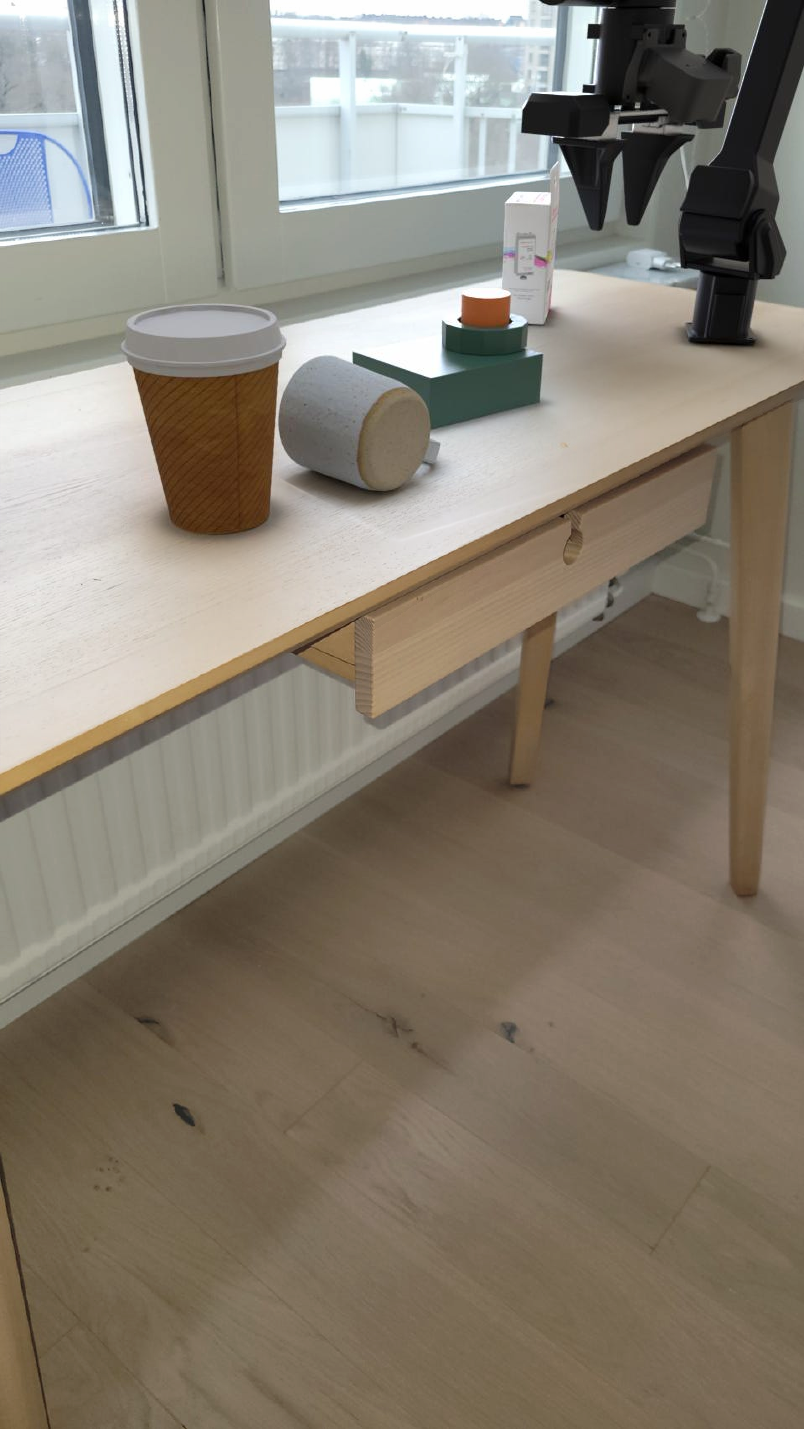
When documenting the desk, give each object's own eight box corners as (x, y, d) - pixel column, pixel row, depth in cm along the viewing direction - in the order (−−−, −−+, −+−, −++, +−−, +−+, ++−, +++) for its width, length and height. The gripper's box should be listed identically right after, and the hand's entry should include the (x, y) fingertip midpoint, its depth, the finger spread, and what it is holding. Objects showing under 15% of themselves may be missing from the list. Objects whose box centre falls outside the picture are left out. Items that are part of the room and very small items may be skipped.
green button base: (472, 373, 96) (475, 304, 93) (552, 399, 90) (558, 325, 87) (353, 400, 89) (351, 325, 86) (429, 430, 83) (431, 351, 79)
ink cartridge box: (507, 306, 120) (515, 159, 112) (551, 308, 119) (562, 160, 111) (497, 323, 113) (505, 168, 105) (544, 326, 112) (556, 169, 104)
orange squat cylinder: (486, 317, 91) (487, 286, 89) (519, 326, 88) (521, 294, 87) (450, 324, 89) (451, 292, 87) (483, 333, 86) (484, 300, 85)
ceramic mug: (363, 509, 69) (363, 389, 65) (277, 478, 73) (272, 364, 69) (467, 470, 76) (473, 359, 72) (382, 444, 80) (383, 338, 76)
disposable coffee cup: (152, 490, 72) (129, 302, 65) (295, 486, 72) (285, 300, 66) (135, 547, 64) (106, 341, 57) (295, 543, 64) (284, 338, 58)
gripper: (637, 5, 72) (611, 253, 81) (798, 10, 82) (760, 230, 91) (523, 7, 80) (510, 233, 88) (683, 10, 89) (657, 214, 98)
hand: (614, 228), depth 91 cm, fingers open, 4 cm apart
